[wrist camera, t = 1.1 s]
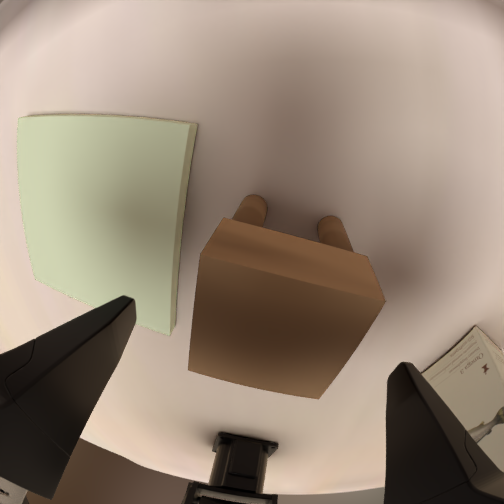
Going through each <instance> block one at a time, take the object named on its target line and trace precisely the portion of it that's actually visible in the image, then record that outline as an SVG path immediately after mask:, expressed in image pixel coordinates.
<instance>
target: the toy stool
mask: <svg viewBox="0 0 504 504" xmlns="http://www.w3.org/2000/svg"><path fill="white" fill-rule="evenodd" d="M266 213H267V204H266V201H265V200H264V199H263V198H262V197H260V196H258V195H249V196H247V197H245V198H244V199H243V201H242V202H241V204H240V206H239V208H238V209H237V211H236V213H235V215H234V217H233V218H232V220H231V219H227V218H223V219H222V221H221V222H220V224H219V225H218V227H217V229H216V230H215V232H214V233H213V235H212V236H211V238H210V240H209V241H208V243H207V244H206V246H205V248H204V249H203V251H202V252H201V254H200V260H199V268H198V276H197V284H196V292H195V301H194V310H193V319H192V329H191V340H190V351H189V363H188V370H189V371H192V372H196V373H199V374H202V375H206V376H209V377H213V378H217V379H220V380H224V381H228V382H232V383H236V384H240V385H244V386H249V387H253V388H258V389H262V390H267V391H272V392H277V393H283V394H288V395H294V396H300V397H306V398H313V399H319V398H320V397H321V396H322V394H323V393H324V392H325V391H326V389H327V388H328V387H329V385H330V384H331V383H332V382H333V380H334V379H335V378H336V376H337V375H338V374H339V372H340V371H341V369H342V368H343V367H344V365H345V364H346V363H347V361H348V360H349V358H350V357H351V355H352V354H353V353H354V351H355V350H356V348H357V347H358V345H359V344H360V342H361V341H362V339H363V338H364V336H365V335H366V333H367V332H368V330H369V328H370V327H371V325H372V324H373V322H374V320H375V319H376V317H377V315H378V314H379V312H380V310H381V309H382V307H383V305H384V304H385V302H386V301H385V298H384V296H383V293H382V290H381V288H380V286H379V283H378V281H377V278H376V276H375V273H374V271H373V269H372V266H371V264H370V262H369V260H368V257H367V256H364V255H361V254H357V253H354V252H353V249H352V246H351V244H350V241H349V239H348V236H347V234H346V231H345V229H344V226H343V224H342V222H341V220H340V219H339V218H337V217H335V216H327V217H325V218H323V219H322V220H321V221H320V222H319V224H318V235H319V240H320V243H318V242H315V241H311V240H307V239H304V238H300V237H296V236H293V235H289V234H285V233H281V232H278V231H274V230H270V229H266V228H263V224H264V220H265V216H266Z"/></svg>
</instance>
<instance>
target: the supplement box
mask: <svg viewBox="0 0 504 504" xmlns="http://www.w3.org/2000/svg"><path fill="white" fill-rule="evenodd" d="M422 376H423V377H424V378H425V379H426V380H427V381H428V383H429V384H430V385H431V386H432V387H433V389H434V390H435V391H436V392H437V394H438V395H439V396H440V397H441V398H442V400H443V401H444V402H445V403H446V405H447V406H448V407H449V408H450V410H451V411H452V412H453V413H454V415H455V416H456V417H457V418H458V420H459V421H460V422H461V424H462V425H463V426H464V427H465V430H467V431H468V433H469V434H470V435H471V437H472V438H473V439H474V440H475V442H476V443H477V444H478V445H479V446H480V448H481V449H482V450H483V451H484V452H485V453H486V455H487V456H488V457H489V458H490V459H491V460H492V461H493V462H494V464H495V465H496V466H497V467H498V468H499V469H500V470H501V471H502V472H504V354H503V352H502V351H501V350H500V349H499V348H498V347H497V346H496V345H495V344H494V343H493V342H492V341H491V340H490V339H489V338H488V337H487V336H486V335H485V334H484V333H483V332H482V331H481V330H480V329H479V328H478V327H477V326H475V327H474V328H473V329H472V331H471V332H470V333H469V334H468V335H467V336H466V337H465V338H464V339H463V340H462V341H461V342H460V343H459V344H458V345H457V346H455V347H454V348H453V349H452V350H451V351H450V352H449V353H448V354H446V355H445V356H444V357H443V358H442V359H440V360H439V361H438V362H437V363H435V364H434V365H433V366H432V367H430V368H429V369H428V370H426V371H425V372H424V373H422Z"/></svg>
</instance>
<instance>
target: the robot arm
mask: <svg viewBox="0 0 504 504" xmlns="http://www.w3.org/2000/svg"><path fill="white" fill-rule="evenodd" d="M136 320H137V314H136V302H135V299H133V298H131V297H128V296H126V295H122V296H120V297H118V298H116V299H114V300H111V301H109V302H107V303H105V304H103V305H101V306H99V307H97V308H95V309H93V310H91V311H89V312H87V313H85V314H83V315H81V316H79V317H77V318H75V319H73V320H71V321H69V322H67V323H65V324H63V325H61V326H59V327H57V328H55V329H53V330H51V331H49V332H47V333H45V334H43V335H41V336H39V337H37V338H36V339H33V340H31V341H29V342H27V343H25V344H23V345H20V346H18V347H16V348H14V349H12V350H9V351H7V352H5V353H2V354H0V504H29V502H28V500H27V498H26V493H27V491H31V492H33V493H35V494H38V495H40V496H43V497H45V498H48V499H50V500H51V499H52V498H53V496H54V494H55V491H56V489H57V486H58V484H59V482H60V479H61V477H62V474H63V472H64V470H65V468H66V466H67V463H68V461H69V459H70V456H71V454H72V452H73V450H74V448H75V446H76V444H77V441H78V439H79V437H80V435H81V433H82V431H83V429H84V427H85V425H86V423H87V421H88V419H89V417H90V415H91V413H92V411H93V409H94V407H95V405H96V403H97V402H98V400H99V398H100V396H101V394H102V392H103V390H104V388H105V386H106V385H107V383H108V381H109V379H110V377H111V375H112V374H113V372H114V370H115V368H116V366H117V365H118V363H119V361H120V358H121V356H122V354H123V351H124V349H125V347H126V344H127V342H128V340H129V337H130V335H131V333H132V330H133V328H134V326H135V323H136ZM277 449H278V444H276V443H270V442H264V441H258V440H253V439H247V438H243V437H238V436H233V435H229V434H224V433H218V435H217V438H216V441H215V444H214V446H213V450H212V451H213V452H216V456H215V460H214V464H213V468H212V472H211V476H210V480H209V484H208V485H205V484H201V483H199V482H196V481H194V482H193V483H189V484H188V488H187V491H186V494H185V497H184V499H183V501H182V503H181V504H246V503H239V502H232V501H226V500H221V499H216V498H211V497H206V496H202V497H200V494H204V495H208V496H213V497H218V498H224V499H229V500H235V501H242V502H249V503H257V504H277V499H278V495H277V494H272V495H268V494H262V493H263V486H264V480H265V473H266V466H267V459H268V457H270V456H271V455H272V454H273V453H274V452H275V451H276V450H277ZM384 504H504V472H502V471H501V470H500V469H499V468H498V467H497V466H496V465H495V464H494V462H493V461H492V460H491V459H490V458H489V457H488V456H487V455H486V453H485V452H484V451H483V450H482V449H481V448H480V446H479V445H478V444H477V443H476V442H475V440H474V439H473V438H472V437H471V435H470V434H469V433H468V431H467V430H465V427H464V426H463V425H462V424H461V422H460V421H459V420H458V418H457V417H456V416H455V415H454V413H453V412H452V411H451V410H450V408H449V407H448V406H447V405H446V403H445V402H444V401H443V400H442V398H441V397H440V396H439V395H438V394H437V392H436V391H435V390H434V389H433V387H432V386H431V385H430V384H429V383H428V381H427V380H426V379H425V378H424V377H423V376H422V374H421V373H420V372H419V371H418V370H417V368H416V367H415V366H414V365H413V364H412V363H410V362H401V363H400V364H399V365H398V366H397V367H396V368H395V369H394V371H393V372H392V373H391V374H390V375H389V377H388V381H387V404H386V478H385V494H384Z"/></svg>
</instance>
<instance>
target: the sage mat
mask: <svg viewBox="0 0 504 504" xmlns="http://www.w3.org/2000/svg"><path fill="white" fill-rule="evenodd" d="M197 125H198V124H195V123H188V122H181V121H173V120H165V119H156V118H146V117H134V116H120V115H99V114H52V115H32V116H25V117H21V118H18V127H17V168H18V184H19V196H20V205H21V213H22V220H23V226H24V232H25V238H26V243H27V248H28V253H29V257H30V261H31V266H32V270H33V274H34V277H35V280H37V281H39V282H41V283H43V284H45V285H47V286H49V287H51V288H53V289H55V290H57V291H59V292H61V293H63V294H65V295H67V296H70V297H72V298H74V299H76V300H78V301H80V302H83V303H85V304H87V305H90V306H92V307H94V308H97V307H99V306H101V305H103V304H105V303H107V302H109V301H111V300H114V299H116V298H118V297H120V296H122V295H126V296H128V297H131V298H133V299H135V302H136V314H137V320H136V323H135V324H137V325H140V326H142V327H145V328H148V329H151V330H153V331H156V332H159V333H162V334H165V335H168V336H170V335H171V333H172V331H173V329H174V327H175V320H176V301H177V285H178V271H179V259H180V248H181V238H182V228H183V219H184V211H185V203H186V195H187V188H188V180H189V174H190V167H191V160H192V154H193V148H194V142H195V136H196V131H197Z"/></svg>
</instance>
